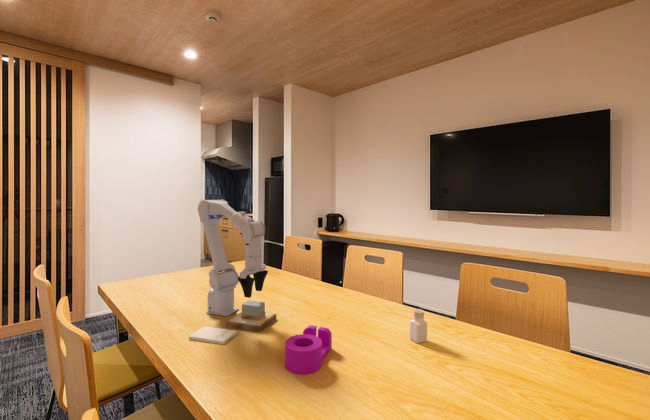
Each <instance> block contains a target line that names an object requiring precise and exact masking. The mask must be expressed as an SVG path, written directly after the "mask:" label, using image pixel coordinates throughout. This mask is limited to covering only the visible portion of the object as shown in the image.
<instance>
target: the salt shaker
mask: <svg viewBox="0 0 650 420" xmlns="http://www.w3.org/2000/svg"><path fill="white" fill-rule="evenodd" d="M424 318H425V311H424V310H423V309H421V308H420V309H419V308H415V309H413V319H411V320H410V321H409V339H410V340H411V341H412V342H414V343H416V344H421V343H424V342H427V340H428V322H427V321H426V320H425V319H424Z"/></svg>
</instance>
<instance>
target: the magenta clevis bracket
mask: <svg viewBox="0 0 650 420" xmlns="http://www.w3.org/2000/svg"><path fill="white" fill-rule="evenodd" d="M317 328H318V329H317ZM331 331H332V330H330V328H327V327H323V326H320V327H317V325H311V324H310V325H308V326H307V327H305V328H304V330H303V331H302V334H296V335H292V336H290V337H288V338H287V339H286V340H285V342H284V366H285V367H284V368H285V369H286V371H288V372H289V373H292V374H294V375H301V376H305V375H312V374H314V373H316V372H318V371H319V370H320V369H322V367H323V362H324V360H325V359H326V357H327V355H328V354H329V353H330V352H331V350H332V339H333V338H332V337H333V336H332V335H333V334H332V332H331Z"/></svg>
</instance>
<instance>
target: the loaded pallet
mask: <svg viewBox="0 0 650 420" xmlns="http://www.w3.org/2000/svg"><path fill="white" fill-rule="evenodd" d="M265 305H266V302H265V301H257V300H251V299H249V300H247V301H246V302H244V303H242V304H241V312H242V314H241V318H242V319H249V320H256V321H260V320H261V319H262V318H264V317H265V312H266V311H265V310H266V308H265V307H266V306H265Z"/></svg>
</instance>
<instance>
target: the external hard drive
mask: <svg viewBox="0 0 650 420" xmlns="http://www.w3.org/2000/svg"><path fill="white" fill-rule="evenodd" d="M238 333H239V331H238V330H232V329H226V328H219V327H213V326H212V327H211V326H202V327H200V329H198V330H197V331H195V332H193V333H192V334H190V335H189V336H188V340H190V341H197V342H204V343H211V344H220V345H225V344H226V343H228V342H229V341H230V340H231V339H232V338H234V337H235V336H237V335H238Z"/></svg>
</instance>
